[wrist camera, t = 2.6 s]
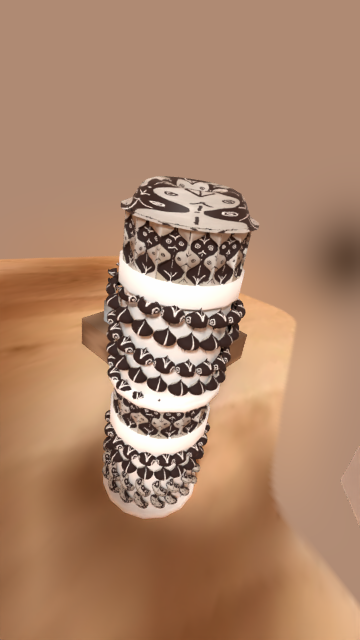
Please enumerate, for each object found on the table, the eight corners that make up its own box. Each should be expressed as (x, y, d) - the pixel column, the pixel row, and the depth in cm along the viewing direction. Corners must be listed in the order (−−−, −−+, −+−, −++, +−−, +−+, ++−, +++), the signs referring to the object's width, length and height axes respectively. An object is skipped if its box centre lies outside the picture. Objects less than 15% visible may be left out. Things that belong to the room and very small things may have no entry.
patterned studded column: (74, 489, 29) (72, 171, 17) (133, 420, 36) (160, 167, 24) (171, 546, 26) (251, 213, 14) (212, 459, 34) (288, 194, 22)
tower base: (81, 343, 47) (82, 298, 44) (162, 312, 58) (168, 274, 55) (163, 407, 39) (172, 357, 35) (240, 357, 50) (252, 316, 47)
